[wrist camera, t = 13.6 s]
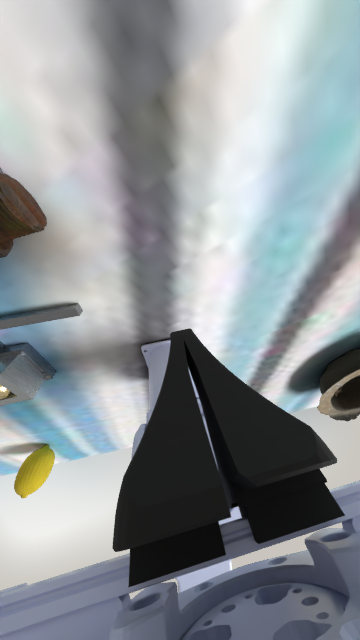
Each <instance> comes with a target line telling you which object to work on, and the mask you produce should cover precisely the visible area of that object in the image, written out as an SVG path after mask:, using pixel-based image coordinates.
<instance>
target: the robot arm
mask: <svg viewBox="0 0 360 640" xmlns="http://www.w3.org/2000/svg"><path fill="white" fill-rule="evenodd" d="M170 337H171V340H166V341H161V342H156V343H151V344H146V345H143V346H142V347H141V350H142V353H143V355H144V358H145V361H146V364H147V366H148V369H149V412H148V413H147V424H141V425H140V427H139V429H138V430H137V432H136V434H135V437H134V442H133V450H132V460H131V462H130V464H129V466H128V469H127V471H126V473H125V475H124V477H123V481H122V485H121V489H120V493H119V498H118V503H117V509H116V515H115V526H114V538H113V549H114V551H115V552H118V551H123V550H127V549H130V553H129V554H126V555H123V556H119V557H116V558H113V559H110V560H107V561H104V562H100V563H97V564H94V565H91V566H88V567H85V568H81V569H78V570H75V571H72V572H69V573H66V574H62V575H59V576H56V577H53V578H50V579H47V580H44V581H40V582H37V583H34V584H31V585H28V586H27V583H24V584H21V585H17V586H14V587H11V588H8V589H5V590H2V591H0V640H360V481H357V482H353V483H351V484H347V485H344V486H341V487H338V488H334V489H331V490H329V489H328V488H327V486H326V485H325V483H326V482H327V480H326V478H325V477H324V475H323V474H322V472H321V471H320V468H323V467H326V466H329V465H332V464H335V463H337V458H336V457H335V456H334V455H333V453H332V452H331V451H330V449H329V448H328V447H327V445H326V444H325V443H324V442H323V440H322V439H321V438H320V437H319V436H318V435H317V434H316V433H315V432H314V430H313V429H312V428H311V427H310V426H308V425H307V424H305V423H303V422H302V421H300V420H298V419H297V418H295V417H294V416H292V415H290V414H289V413H287V412H286V411H284V410H283V409H281V408H279V407H278V406H276V405H275V404H273V403H272V402H270V401H269V400H267V399H266V398H264V397H263V396H262V395H260V394H259V393H258V392H256V391H255V390H253V389H252V388H251V387H249V386H248V385H247V384H245V383H244V382H243V381H241V380H240V379H239V378H238V377H236V376H235V375H234V374H233V373H232V372H230V371H229V370H228V369H227V368H226V367H225V366H224V365H222V364H221V363H220V362H219V361H218V360H217V359H216V358H215V357H214V356H213V355H212V354H211V353H210V352H209V351H208V349H207V348H206V347H205V346H204V345H203V344H202V343H201V342H200V340H199V339H198V338H197V337H196V335H195V334H194V332H193V331H192V329H185V330H180V331H176V332H172V333H171V334H170ZM145 350H146V351H145ZM340 522H342V525H343V529H337V528H328V529H322V528H325V527H328V526H331V525H334V524H337V523H340ZM319 529H322V530H319ZM316 530H319V531H317V532H315V533H314V534H312V535H311V536H310V537H308V538H306V539H305V544H306V546H307V549H308V550H306V551H302V552H298V553H293V554H289V555H285V556H280V557H276V558H272V559H267V560H263V561H259V562H255V563H252V564H248V565H245V566H242V567H239V568H236V569H233V570H232V566H231V559H233V558H236V557H239V556H242V555H245V554H248V553H251V552H254V551H257V550H259V549H262V548H266V547H269V546H272V545H275V544H277V543H280V542H283V541H286V540H290V539H293V538H296V537H298V536H302V535H305V534H308V533H310V532H314V531H316ZM173 578H176V579H177V581H178V591H179V593H178V592H177V585H176V583H175V582H169V583H161V582H164V581H167V580H170V579H173ZM146 587H147V588H146ZM143 588H145V589H144V590H143V591H141V592H140V593H139V594H138V595H136V596H135V597H134V598H133V599H132V600H131V599H130V596H129V593H131V592H134V591H137V590H140V589H143Z"/></svg>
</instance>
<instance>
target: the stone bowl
mask: <svg viewBox="0 0 360 640" xmlns="http://www.w3.org/2000/svg"><path fill="white" fill-rule="evenodd" d="M320 390H321V393H322V396H321V398H320V404H319V406H318V407H317V408H318V410H319V411H320V413H323V414H325V415H329V416H330V417H331V418H333V419H335V420H345V421H350V420H351V419H356V418H357V416H358V415H359V414H360V349H356V350H350V351H348V352H347V353H346V354H345V355H344V356H341V357H339V358H338V359H337V360H335V361H333V362H332V363H330V364H329V365H328V366H327V369H326V371H325V372H324V374H323V375H322V377H321V379H320Z"/></svg>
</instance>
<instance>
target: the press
mask: <svg viewBox="0 0 360 640" xmlns="http://www.w3.org/2000/svg"><path fill="white" fill-rule="evenodd" d="M0 173H3V172H2V170H1V168H0ZM82 311H83V310H82V309H81V307H80V305H79V304H73V305H67V306H61V307H55V308H49V309H43V310H37V311H31V312H25V313H19V314H13V315H8V316H2V317H0V329H6V328H11V327H17V326H23V325H29V324H34V323H40V322H46V321H51V320H57V319H63V318H68V317H74V316H80V314H81V313H82ZM55 373H56V371H55V370H54V369H53V368H52V367H51V366H50V365H49V364H48V363H47V361H46V360H45V359H44V358H43V357H42V356H41V355H40V354H39V353H38V352H37V351H36V350H35V349H34V348H33V347H32V346H31V345H30V344H29V343H23V344H18V345H13V346H7V347H6V346H5V345H4V344H3V343H1V342H0V385H2V386H3V387H5V388H6V389H8V390H9V391H11V392H10V393H9V394H8V396H7V397H6V398H4V399H0V406H2V405H6V404H11V403H16V402H20V401H25V400H29V399H33V398H34V396H35V394H36V393H37V391H38V390H39V388H40V386H41V385H42V383H43V382H44V380H48V379H52V378H53V376H54V375H55Z"/></svg>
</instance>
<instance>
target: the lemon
mask: <svg viewBox="0 0 360 640" xmlns="http://www.w3.org/2000/svg"><path fill="white" fill-rule="evenodd" d="M54 459H55V454H54V452H53V450H52V449H50V448H49V446H48V445H45V446H44V447H42V448H41V449H38V450H36V451H35V452H33V453H32V454H31V455H29V456H28V457H27V459H26V460H25V461H24V463H23V464H22V466H21V467H20V469H19V471H18V474H17V476H16V480H15V484H14V489H15V492H16V493H17V494H18V495H20V496H21V498H26V497H27V496H28V495H29V494H31V493H33V492H35V491H36V490H37V489H38V488H39V487H41V486H42V484H43V483H44V482H45V481H46V479H47V477H48V476H49V474H50V472H51V470H52V467H53V464H54Z"/></svg>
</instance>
